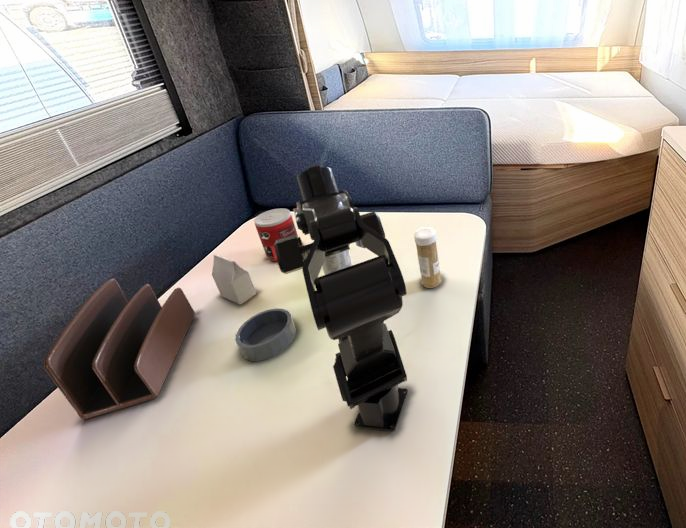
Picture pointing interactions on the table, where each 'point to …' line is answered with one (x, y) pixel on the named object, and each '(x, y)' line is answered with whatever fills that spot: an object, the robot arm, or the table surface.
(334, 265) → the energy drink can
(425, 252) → the sprinkles bottle
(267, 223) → the canned food
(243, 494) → the table surface
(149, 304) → the letter holder
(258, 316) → the grey round dish
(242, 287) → the gable top box
